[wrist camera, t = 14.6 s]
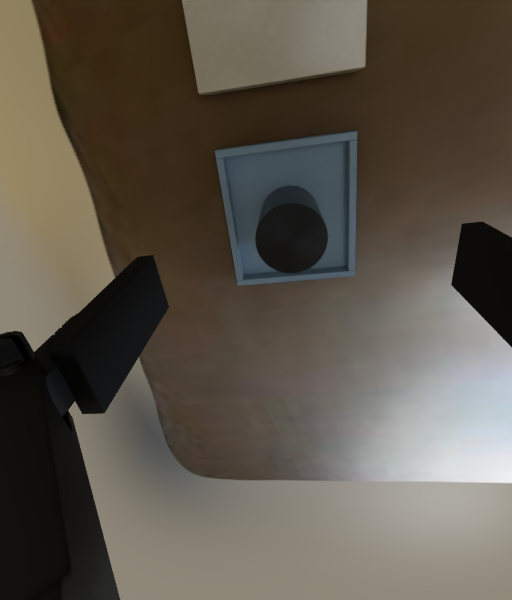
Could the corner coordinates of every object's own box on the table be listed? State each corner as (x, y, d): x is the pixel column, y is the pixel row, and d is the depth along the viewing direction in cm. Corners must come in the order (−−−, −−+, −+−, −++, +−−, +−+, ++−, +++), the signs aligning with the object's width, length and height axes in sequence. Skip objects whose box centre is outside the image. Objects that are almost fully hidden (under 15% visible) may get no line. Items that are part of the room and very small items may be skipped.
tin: (257, 189, 29) (250, 207, 22) (317, 181, 28) (327, 199, 22) (264, 245, 31) (259, 276, 25) (319, 240, 30) (329, 270, 24)
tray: (217, 148, 28) (214, 150, 26) (353, 130, 26) (357, 130, 25) (239, 279, 33) (237, 286, 32) (351, 269, 32) (354, 276, 31)
